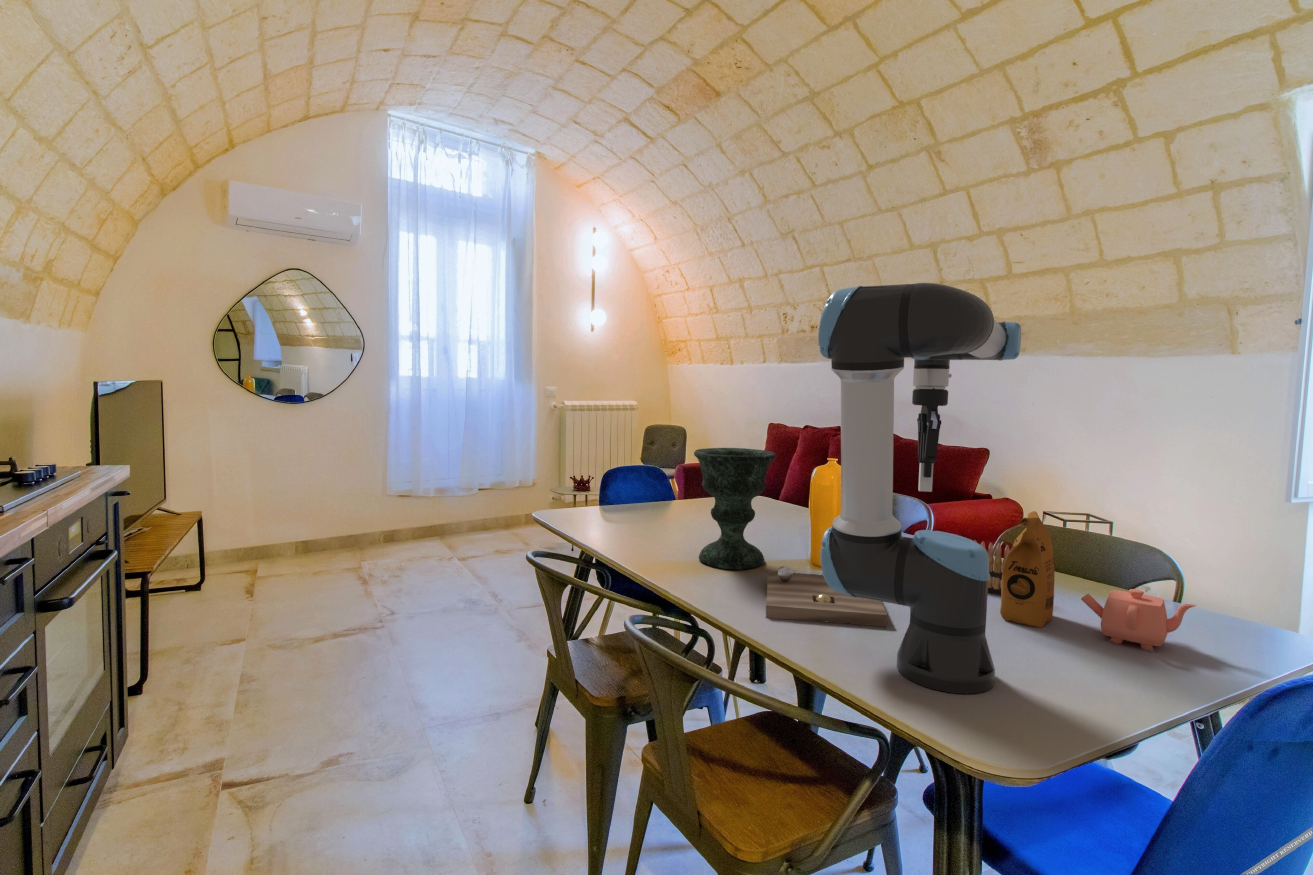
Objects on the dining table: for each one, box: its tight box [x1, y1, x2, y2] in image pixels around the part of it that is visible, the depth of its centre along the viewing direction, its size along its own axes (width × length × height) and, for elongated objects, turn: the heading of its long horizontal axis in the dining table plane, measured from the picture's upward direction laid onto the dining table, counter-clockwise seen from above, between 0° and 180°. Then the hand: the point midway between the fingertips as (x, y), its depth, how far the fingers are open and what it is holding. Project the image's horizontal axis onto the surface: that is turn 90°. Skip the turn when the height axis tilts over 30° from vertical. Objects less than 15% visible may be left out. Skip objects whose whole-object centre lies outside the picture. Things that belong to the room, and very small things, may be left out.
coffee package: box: [999, 511, 1055, 629], centre depth 141 cm, size 10×12×22 cm
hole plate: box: [765, 570, 888, 628], centre depth 149 cm, size 26×24×2 cm
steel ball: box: [777, 565, 794, 581], centre depth 156 cm, size 4×4×4 cm
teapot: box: [1080, 588, 1198, 652], centre depth 129 cm, size 14×12×10 cm
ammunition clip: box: [973, 539, 1010, 596], centre depth 159 cm, size 11×2×12 cm, turn 52°
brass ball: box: [815, 594, 832, 603], centre depth 143 cm, size 4×4×4 cm
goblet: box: [693, 447, 777, 571], centre depth 181 cm, size 22×23×30 cm
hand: (925, 490), depth 154 cm, fingers closed
